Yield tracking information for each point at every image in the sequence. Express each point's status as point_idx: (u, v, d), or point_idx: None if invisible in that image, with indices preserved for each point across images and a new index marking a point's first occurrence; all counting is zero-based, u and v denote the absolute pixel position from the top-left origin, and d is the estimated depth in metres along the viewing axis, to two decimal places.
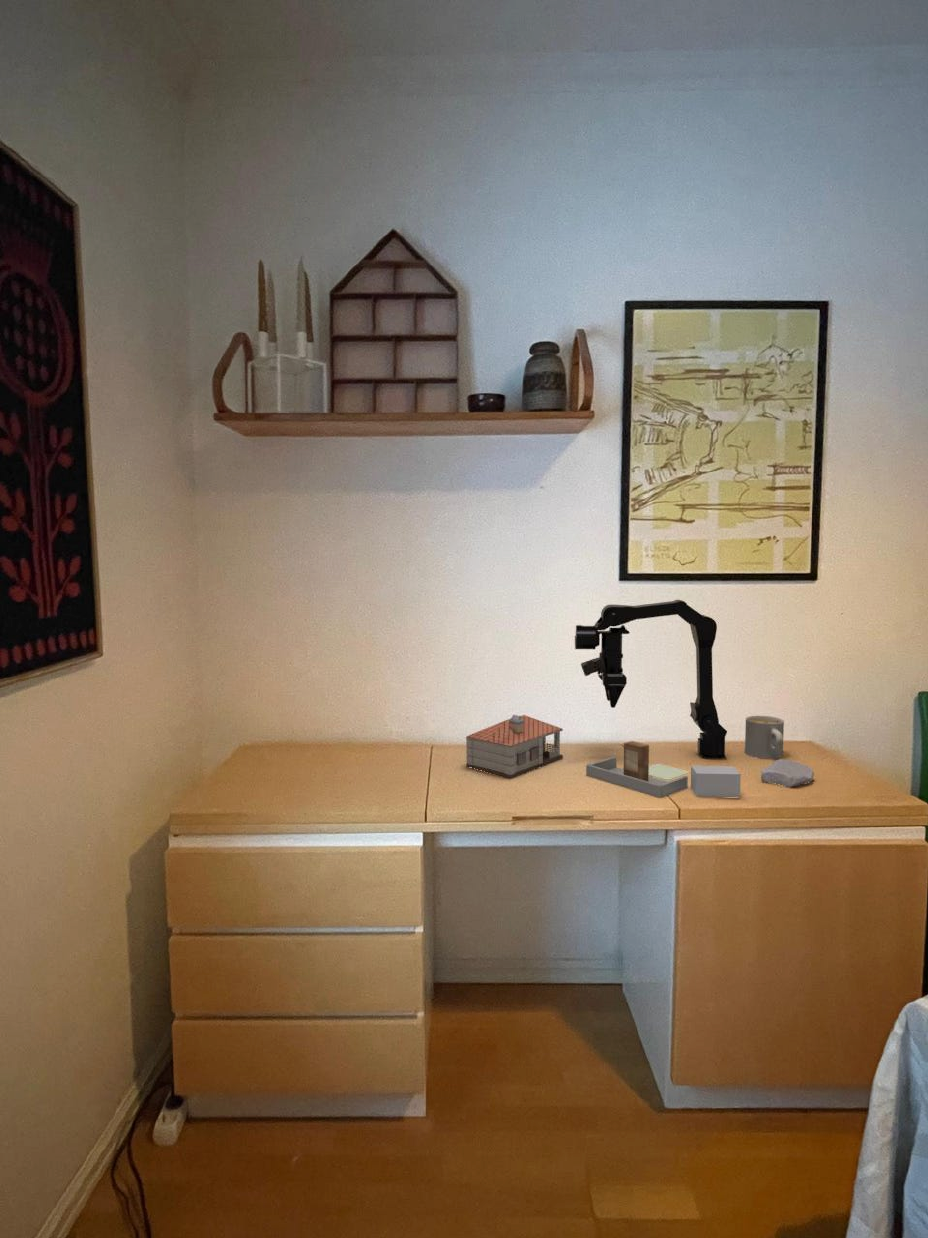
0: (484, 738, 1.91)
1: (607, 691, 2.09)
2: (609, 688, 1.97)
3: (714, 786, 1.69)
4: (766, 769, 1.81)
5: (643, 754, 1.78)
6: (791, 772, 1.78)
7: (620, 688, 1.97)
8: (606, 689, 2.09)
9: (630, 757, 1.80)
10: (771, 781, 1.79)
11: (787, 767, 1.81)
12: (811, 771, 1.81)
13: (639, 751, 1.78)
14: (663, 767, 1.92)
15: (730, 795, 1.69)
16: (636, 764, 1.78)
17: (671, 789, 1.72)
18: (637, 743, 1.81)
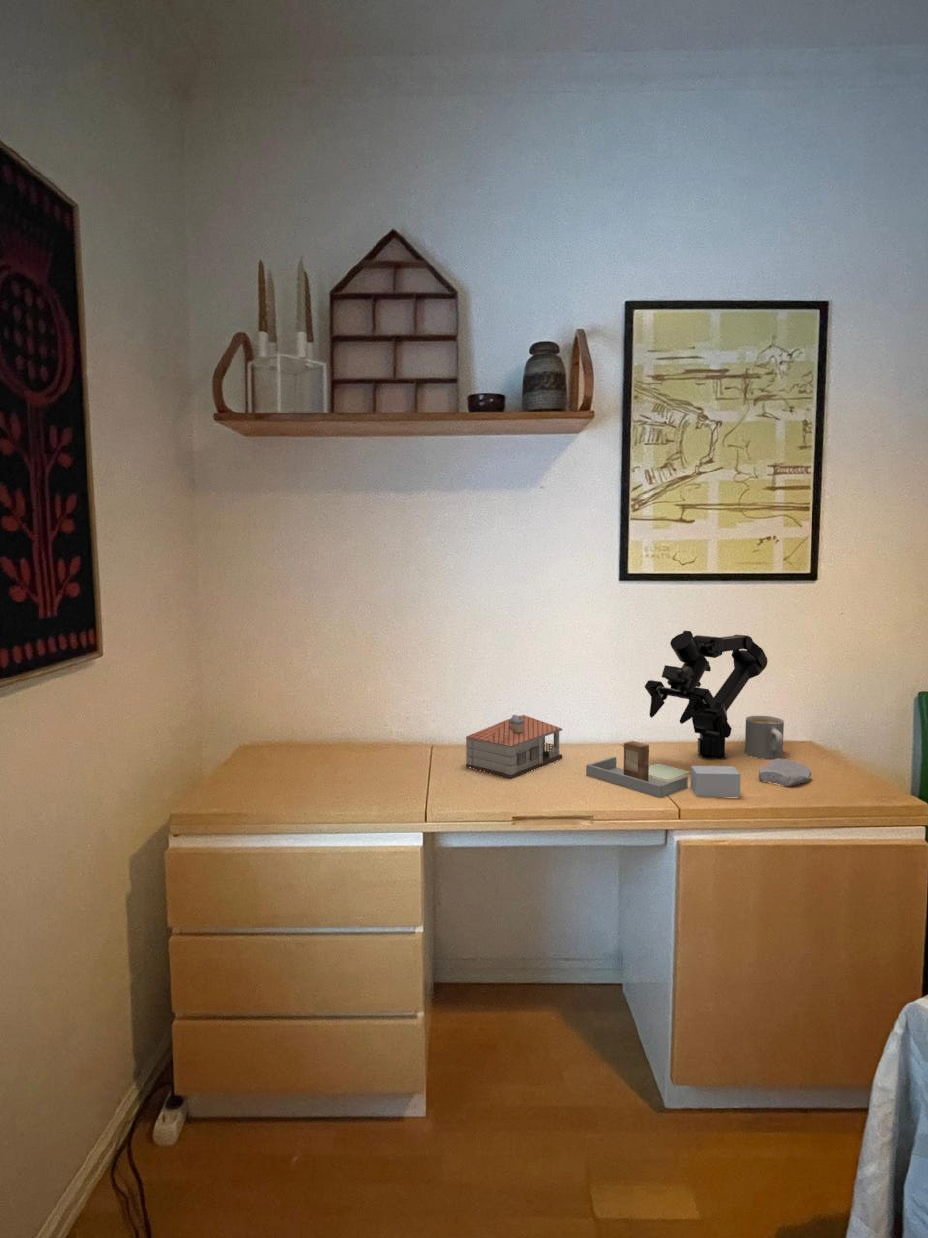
0: (484, 738, 1.91)
1: (654, 707, 1.92)
2: (694, 703, 1.84)
3: (714, 786, 1.69)
4: (764, 768, 1.81)
5: (643, 754, 1.78)
6: (788, 771, 1.79)
7: (699, 710, 1.86)
8: (654, 705, 1.92)
9: (630, 757, 1.80)
10: (769, 780, 1.79)
11: (784, 766, 1.82)
12: (808, 770, 1.81)
13: (639, 751, 1.78)
14: (663, 767, 1.92)
15: (730, 795, 1.69)
16: (636, 764, 1.78)
17: (671, 789, 1.72)
18: (637, 743, 1.81)
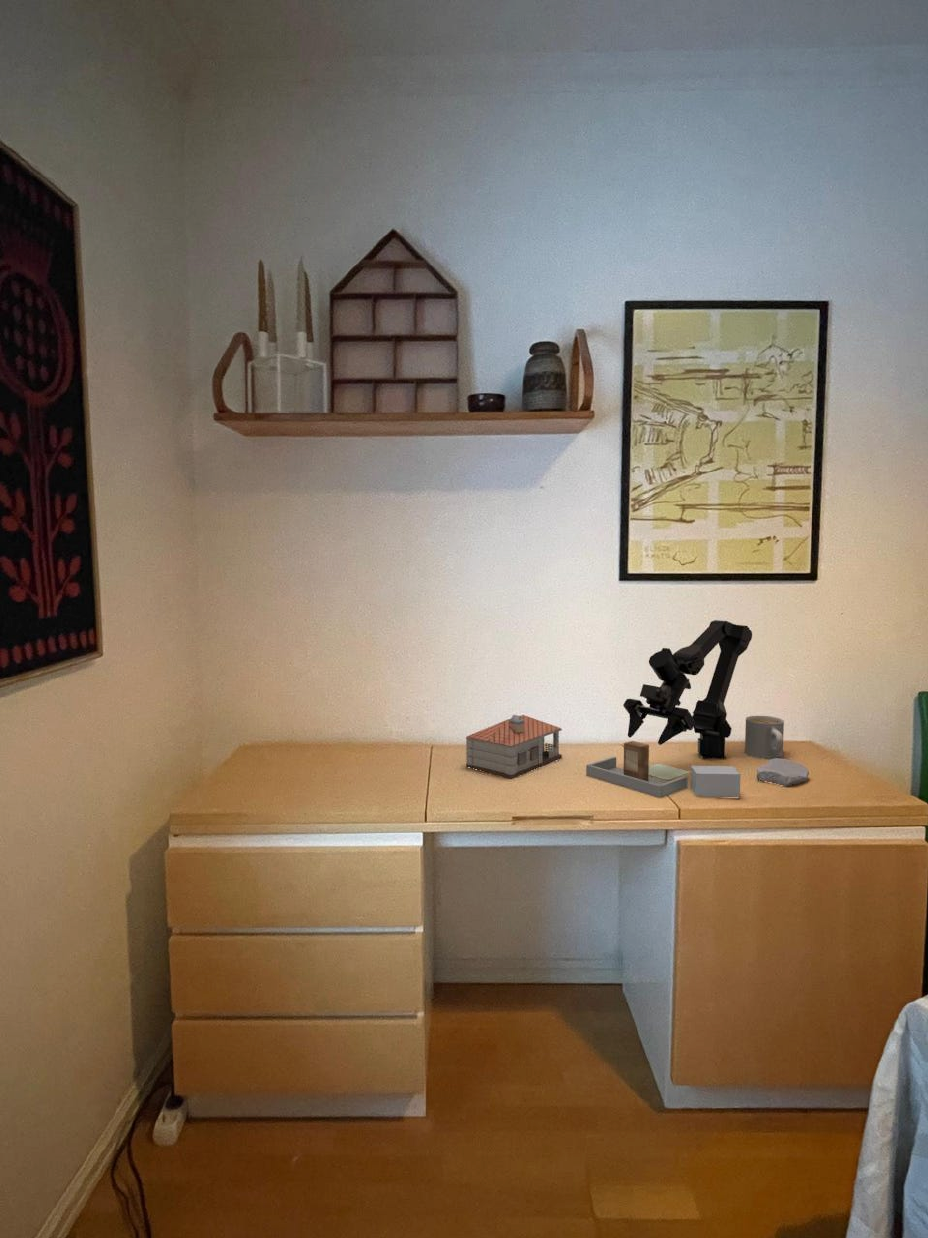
0: (484, 738, 1.90)
1: (632, 727, 1.86)
2: (673, 724, 1.79)
3: (714, 786, 1.69)
4: (762, 768, 1.81)
5: (643, 754, 1.78)
6: (786, 771, 1.79)
7: (678, 730, 1.80)
8: (633, 724, 1.87)
9: (630, 757, 1.80)
10: (767, 780, 1.80)
11: (782, 766, 1.82)
12: (806, 770, 1.82)
13: (639, 751, 1.78)
14: (663, 767, 1.92)
15: (730, 795, 1.69)
16: (636, 764, 1.78)
17: (671, 789, 1.72)
18: (637, 743, 1.81)
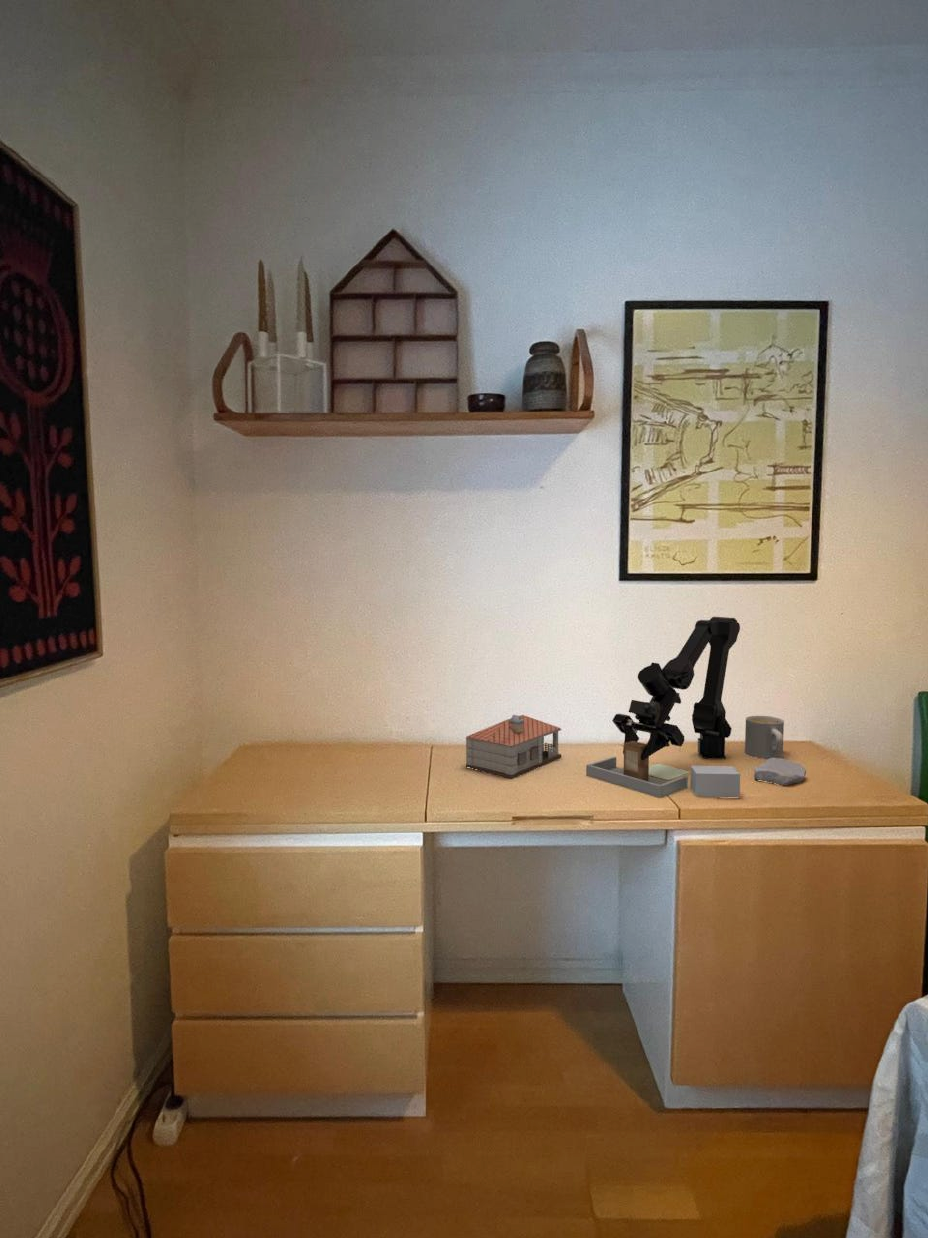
0: (484, 738, 1.90)
1: None
2: (656, 739, 1.78)
3: (713, 786, 1.69)
4: (759, 767, 1.82)
5: None
6: (784, 770, 1.80)
7: (661, 745, 1.79)
8: None
9: (630, 757, 1.80)
10: (764, 779, 1.80)
11: (780, 765, 1.83)
12: (803, 769, 1.82)
13: (639, 751, 1.78)
14: (663, 767, 1.92)
15: (730, 795, 1.69)
16: (636, 764, 1.78)
17: (671, 789, 1.72)
18: (637, 743, 1.81)
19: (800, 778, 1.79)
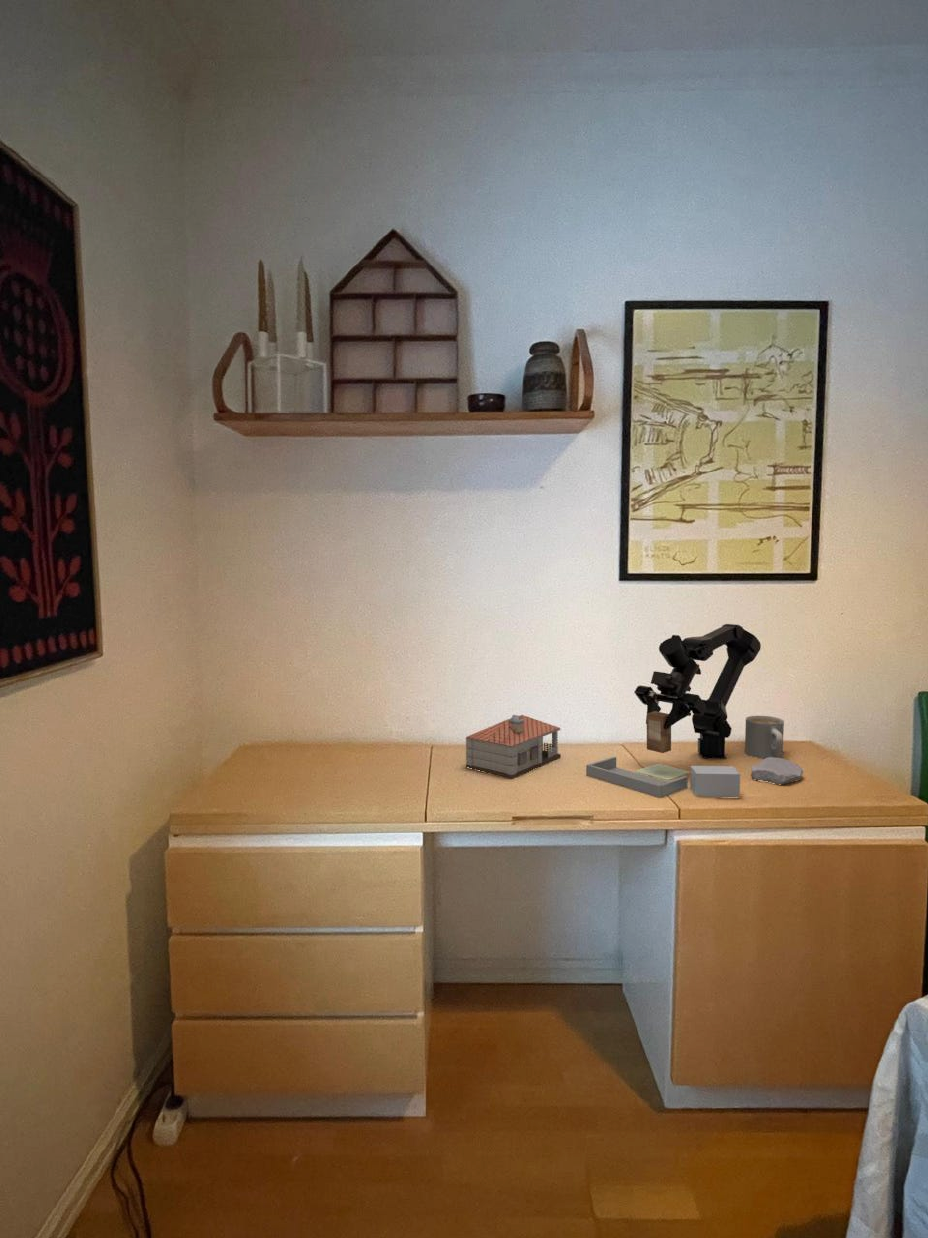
0: (484, 738, 1.90)
1: None
2: (678, 708, 1.83)
3: (713, 786, 1.69)
4: (756, 767, 1.82)
5: None
6: (781, 770, 1.80)
7: (683, 715, 1.85)
8: None
9: (653, 727, 1.85)
10: (761, 779, 1.81)
11: (777, 765, 1.83)
12: (800, 769, 1.83)
13: (661, 721, 1.83)
14: (663, 767, 1.92)
15: (730, 795, 1.69)
16: (659, 733, 1.84)
17: (671, 789, 1.72)
18: (659, 713, 1.86)
19: (797, 777, 1.80)
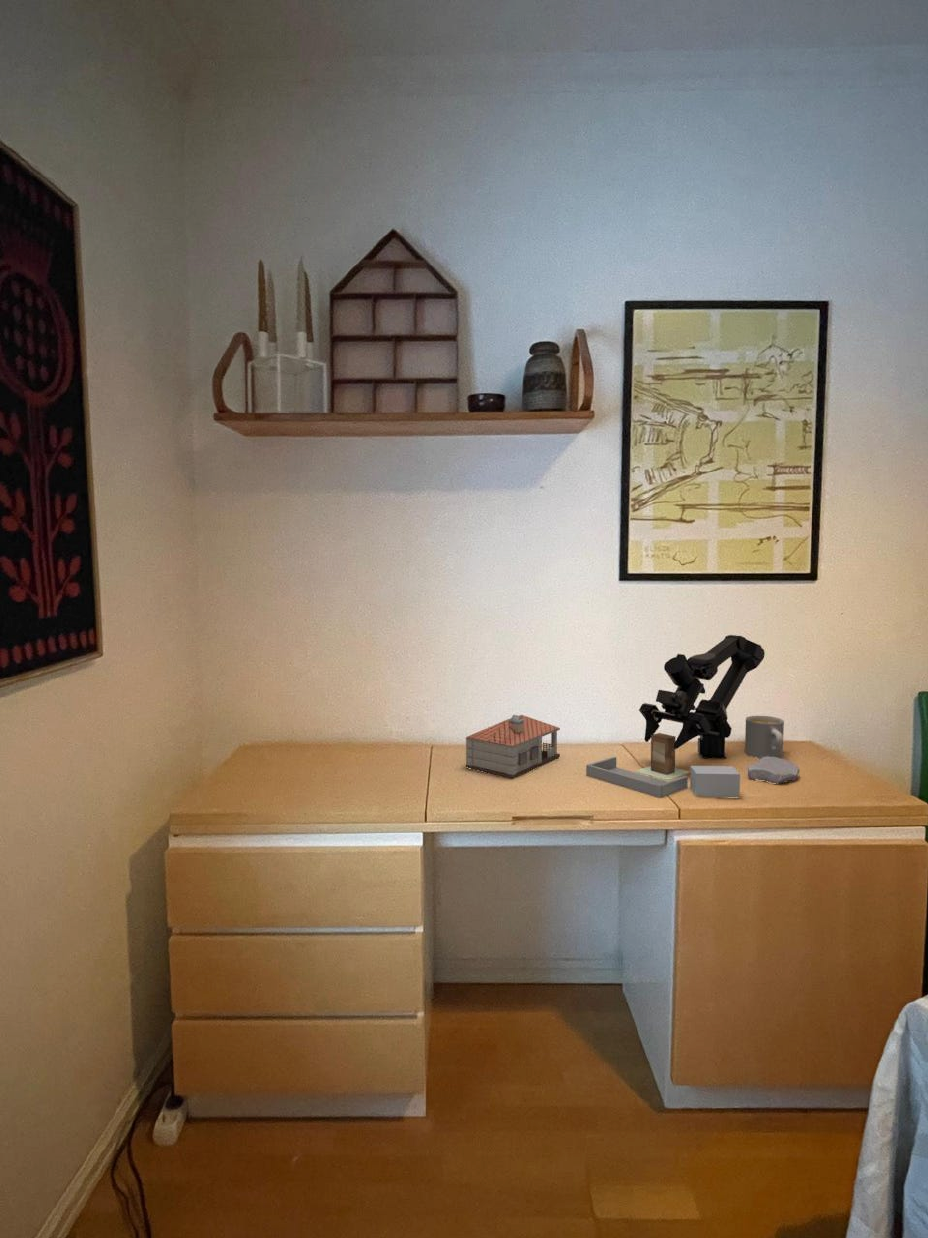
0: (485, 738, 1.90)
1: (649, 731, 1.91)
2: (688, 728, 1.83)
3: (713, 786, 1.69)
4: (753, 766, 1.83)
5: (670, 746, 1.85)
6: (777, 769, 1.81)
7: (693, 735, 1.85)
8: (649, 729, 1.91)
9: (657, 748, 1.87)
10: (758, 778, 1.81)
11: (773, 764, 1.84)
12: (797, 768, 1.83)
13: (666, 743, 1.85)
14: None
15: (729, 795, 1.69)
16: (663, 755, 1.86)
17: (671, 789, 1.72)
18: (664, 735, 1.88)
19: (793, 776, 1.81)
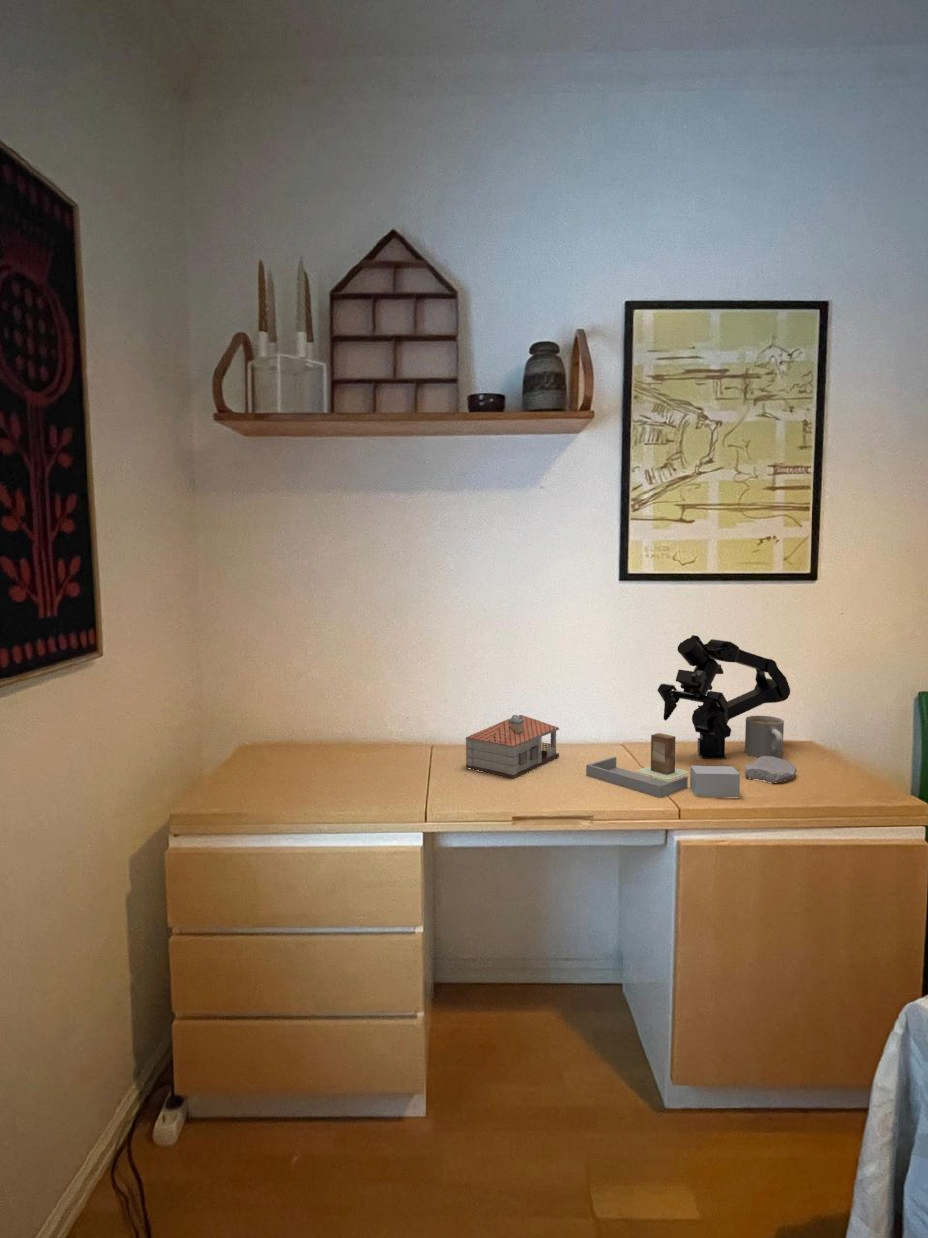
0: (485, 739, 1.90)
1: (668, 710, 1.96)
2: (708, 706, 1.89)
3: (713, 786, 1.69)
4: (750, 766, 1.83)
5: (670, 746, 1.85)
6: (774, 768, 1.81)
7: (712, 713, 1.91)
8: (668, 708, 1.96)
9: (657, 748, 1.87)
10: (755, 777, 1.82)
11: (770, 764, 1.84)
12: (794, 767, 1.84)
13: (666, 743, 1.85)
14: None
15: (729, 795, 1.69)
16: (663, 755, 1.86)
17: (671, 789, 1.72)
18: (664, 735, 1.88)
19: (790, 776, 1.81)
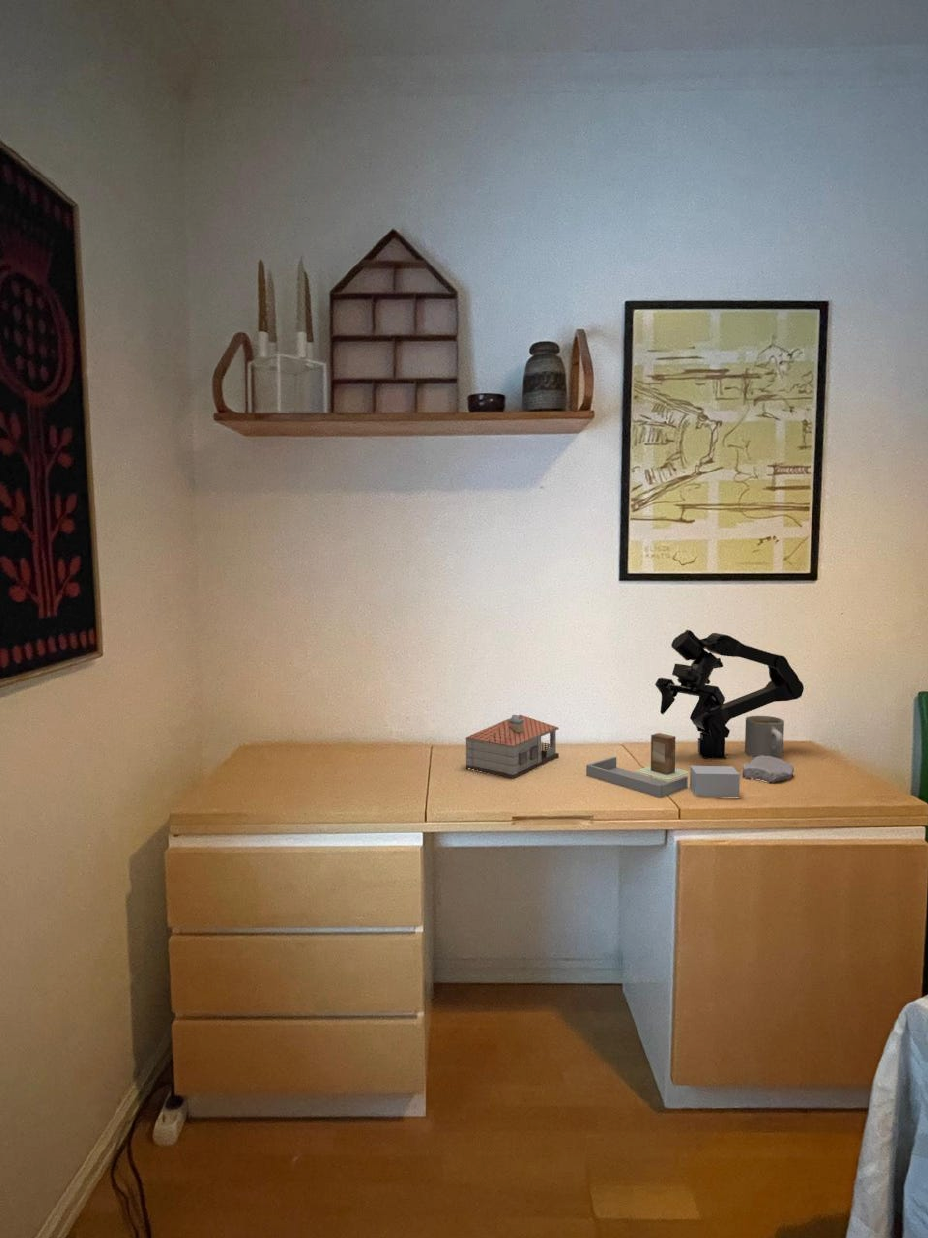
0: (485, 739, 1.90)
1: (665, 704, 1.97)
2: (704, 700, 1.90)
3: (713, 786, 1.69)
4: (747, 765, 1.84)
5: (670, 746, 1.85)
6: (772, 768, 1.82)
7: (709, 707, 1.91)
8: (665, 702, 1.98)
9: (657, 748, 1.87)
10: (752, 777, 1.82)
11: (768, 763, 1.85)
12: (791, 767, 1.84)
13: (666, 743, 1.85)
14: None
15: (729, 795, 1.69)
16: (663, 755, 1.86)
17: (671, 789, 1.72)
18: (664, 735, 1.88)
19: (787, 775, 1.82)
